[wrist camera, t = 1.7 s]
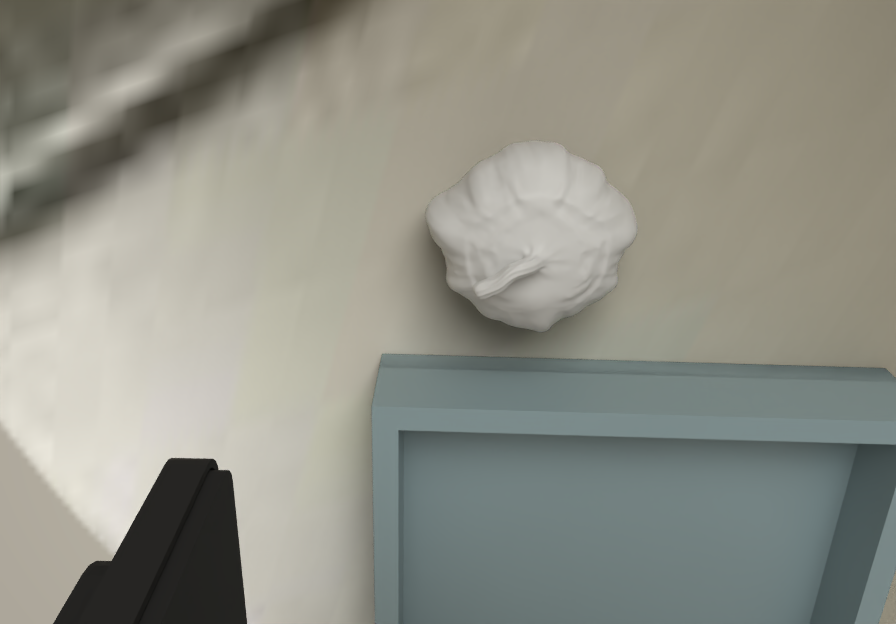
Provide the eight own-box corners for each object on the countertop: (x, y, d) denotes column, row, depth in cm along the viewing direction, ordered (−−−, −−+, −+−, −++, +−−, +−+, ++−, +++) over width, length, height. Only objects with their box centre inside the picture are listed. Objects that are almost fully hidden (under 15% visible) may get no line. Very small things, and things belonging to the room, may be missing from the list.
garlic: (430, 294, 26) (424, 368, 21) (427, 128, 24) (419, 169, 19) (613, 293, 26) (648, 366, 21) (627, 126, 24) (669, 167, 19)
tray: (885, 368, 27) (942, 423, 24) (796, 690, 33) (832, 768, 30) (382, 353, 27) (371, 406, 24) (384, 678, 33) (376, 755, 30)
